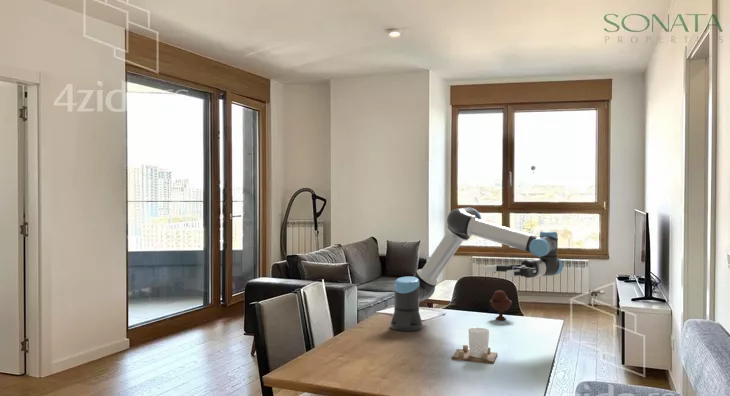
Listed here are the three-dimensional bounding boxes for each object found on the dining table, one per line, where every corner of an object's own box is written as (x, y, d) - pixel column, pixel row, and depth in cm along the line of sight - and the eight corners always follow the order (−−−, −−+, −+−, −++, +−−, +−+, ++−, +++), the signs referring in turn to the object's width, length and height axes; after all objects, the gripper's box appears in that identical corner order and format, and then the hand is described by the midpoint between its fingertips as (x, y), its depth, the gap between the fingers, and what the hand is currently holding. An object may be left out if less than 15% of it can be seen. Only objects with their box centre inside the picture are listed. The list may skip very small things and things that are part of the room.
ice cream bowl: (514, 321, 287) (514, 291, 286) (491, 321, 287) (492, 291, 287) (509, 317, 297) (509, 288, 297) (487, 316, 298) (488, 287, 297)
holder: (451, 359, 223) (451, 351, 223) (457, 351, 234) (457, 343, 234) (493, 363, 218) (493, 356, 218) (497, 355, 229) (497, 347, 229)
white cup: (489, 359, 220) (489, 333, 220) (468, 357, 222) (468, 332, 222) (488, 353, 228) (488, 328, 228) (468, 352, 229) (468, 327, 229)
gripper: (555, 281, 237) (517, 285, 226) (511, 273, 259) (475, 276, 248) (555, 263, 237) (517, 266, 226) (511, 256, 259) (475, 259, 248)
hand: (495, 271), depth 237 cm, fingers open, 13 cm apart
